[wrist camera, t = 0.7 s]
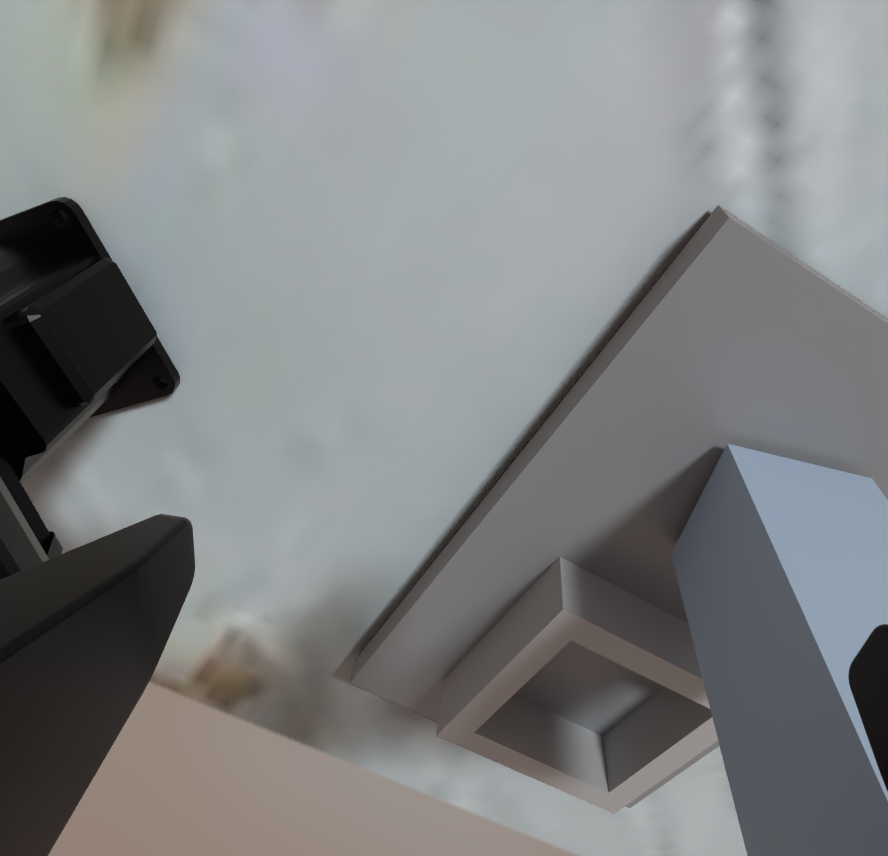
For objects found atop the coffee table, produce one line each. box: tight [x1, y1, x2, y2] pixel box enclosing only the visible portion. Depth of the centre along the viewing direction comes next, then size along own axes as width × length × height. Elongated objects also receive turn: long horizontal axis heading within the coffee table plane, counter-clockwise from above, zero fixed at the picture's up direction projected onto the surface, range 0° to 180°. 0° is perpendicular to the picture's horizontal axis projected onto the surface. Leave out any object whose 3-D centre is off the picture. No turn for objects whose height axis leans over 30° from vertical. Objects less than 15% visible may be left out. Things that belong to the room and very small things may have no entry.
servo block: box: [671, 444, 888, 856], centre depth 16 cm, size 4×4×13 cm
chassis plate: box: [350, 205, 888, 814], centre depth 24 cm, size 22×14×4 cm, turn 150°
